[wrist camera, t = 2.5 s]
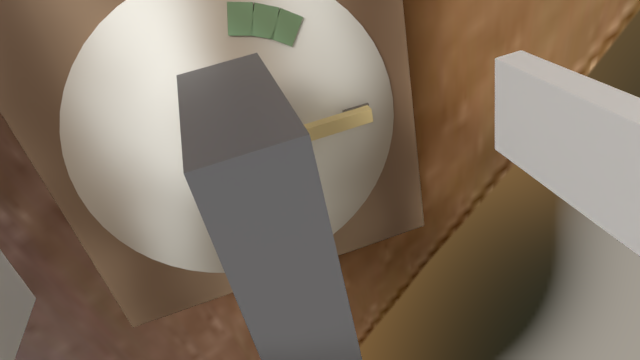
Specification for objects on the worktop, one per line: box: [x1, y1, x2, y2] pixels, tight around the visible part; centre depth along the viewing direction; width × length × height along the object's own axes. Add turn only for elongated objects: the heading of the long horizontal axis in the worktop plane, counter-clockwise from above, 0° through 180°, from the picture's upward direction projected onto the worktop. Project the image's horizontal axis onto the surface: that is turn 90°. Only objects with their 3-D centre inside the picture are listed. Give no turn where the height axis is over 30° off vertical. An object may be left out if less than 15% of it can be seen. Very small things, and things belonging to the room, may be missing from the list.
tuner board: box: [0, 0, 424, 327], centre depth 20 cm, size 16×22×4 cm
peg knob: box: [176, 53, 373, 360], centre depth 16 cm, size 7×10×11 cm
